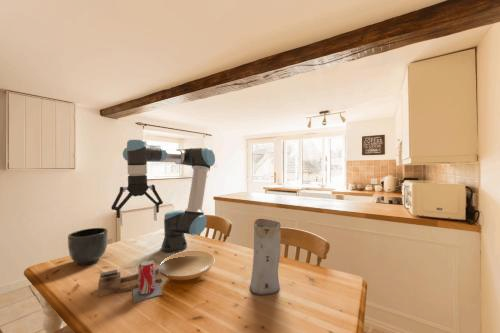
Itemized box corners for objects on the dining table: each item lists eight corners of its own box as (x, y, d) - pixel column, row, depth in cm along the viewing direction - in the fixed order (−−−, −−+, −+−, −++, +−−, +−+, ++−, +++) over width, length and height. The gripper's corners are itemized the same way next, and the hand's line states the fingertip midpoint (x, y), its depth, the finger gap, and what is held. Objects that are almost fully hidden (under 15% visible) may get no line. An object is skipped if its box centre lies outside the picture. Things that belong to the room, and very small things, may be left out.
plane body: (158, 272, 106) (158, 262, 106) (161, 281, 97) (161, 270, 97) (100, 286, 94) (100, 274, 94) (97, 298, 85) (97, 285, 85)
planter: (114, 258, 122) (114, 229, 122) (80, 272, 106) (79, 239, 106) (96, 253, 129) (95, 226, 129) (61, 265, 114) (60, 234, 113)
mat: (158, 283, 96) (158, 282, 96) (161, 294, 87) (161, 293, 87) (132, 289, 91) (132, 288, 91) (133, 303, 82) (133, 301, 82)
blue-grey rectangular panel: (118, 271, 94) (118, 269, 88) (118, 274, 93) (118, 271, 87) (100, 276, 90) (98, 273, 84) (100, 278, 90) (98, 276, 84)
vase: (259, 301, 83) (260, 229, 82) (243, 283, 96) (244, 220, 95) (286, 292, 89) (288, 225, 89) (268, 276, 102) (270, 217, 101)
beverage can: (148, 296, 85) (148, 266, 85) (135, 294, 87) (134, 265, 87) (158, 287, 92) (158, 259, 91) (145, 286, 93) (145, 258, 93)
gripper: (165, 173, 106) (166, 216, 107) (103, 175, 92) (105, 225, 93) (168, 174, 100) (169, 219, 100) (103, 176, 86) (105, 229, 87)
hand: (138, 222), depth 97 cm, fingers open, 13 cm apart
